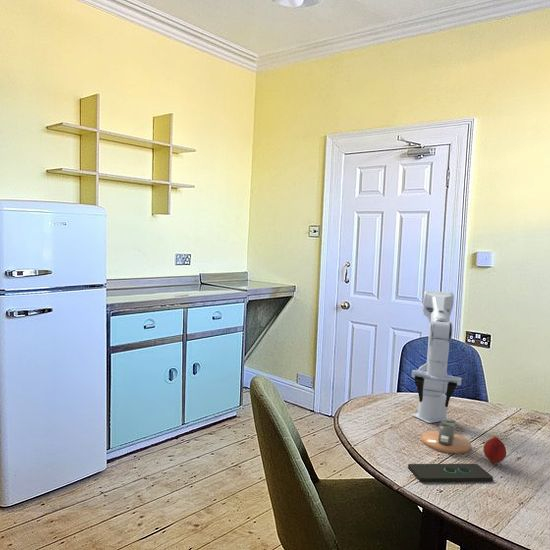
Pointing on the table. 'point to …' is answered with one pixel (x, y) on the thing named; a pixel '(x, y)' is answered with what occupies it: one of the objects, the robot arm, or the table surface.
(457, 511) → the table surface
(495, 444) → the onion
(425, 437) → the plate
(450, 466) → the smart home device
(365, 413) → the table surface
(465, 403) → the table surface
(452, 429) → the connector
